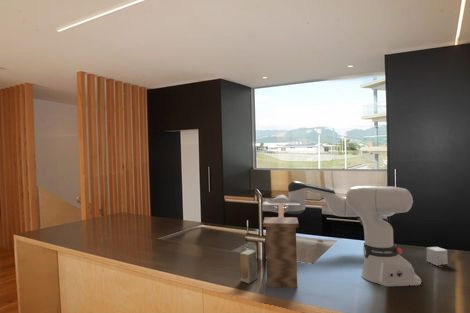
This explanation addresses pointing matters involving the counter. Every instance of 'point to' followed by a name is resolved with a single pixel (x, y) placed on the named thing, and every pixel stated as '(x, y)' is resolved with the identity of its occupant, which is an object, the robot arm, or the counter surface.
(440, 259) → the skincare box
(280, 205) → the bar
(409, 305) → the counter surface
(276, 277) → the pedestal
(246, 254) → the skincare box
